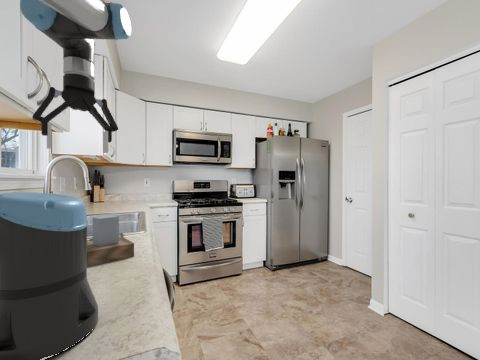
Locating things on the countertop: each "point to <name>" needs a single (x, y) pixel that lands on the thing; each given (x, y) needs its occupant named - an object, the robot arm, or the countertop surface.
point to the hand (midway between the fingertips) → (79, 150)
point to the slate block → (105, 230)
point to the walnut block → (109, 252)
